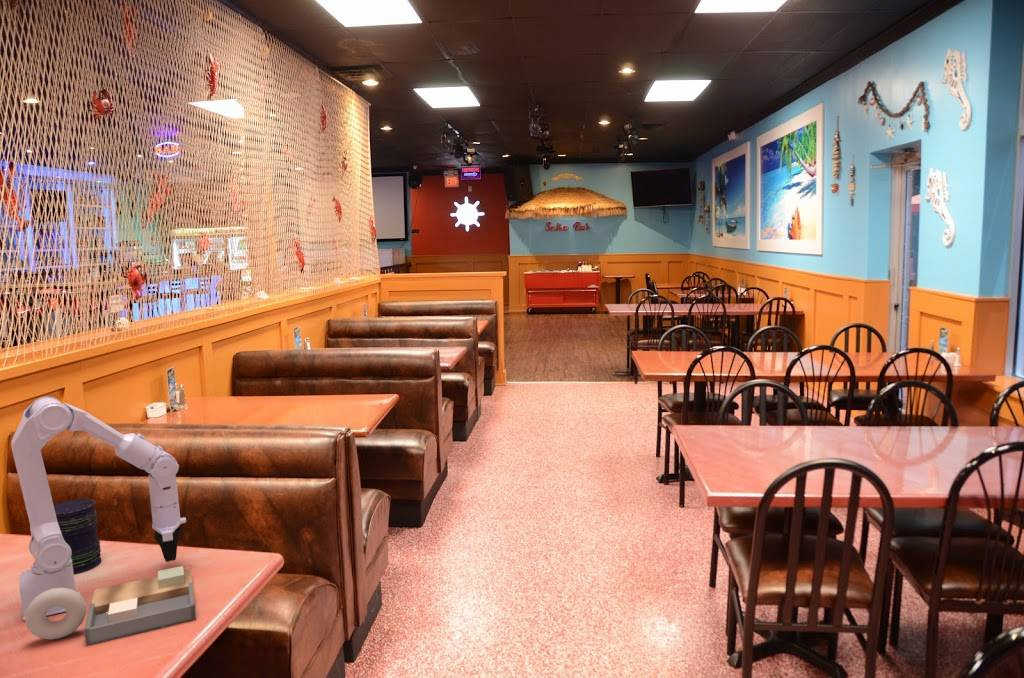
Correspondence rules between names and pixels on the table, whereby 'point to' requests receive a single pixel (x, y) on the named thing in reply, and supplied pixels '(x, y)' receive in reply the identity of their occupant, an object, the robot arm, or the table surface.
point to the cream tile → (123, 610)
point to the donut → (60, 628)
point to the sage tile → (171, 577)
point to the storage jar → (80, 532)
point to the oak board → (138, 592)
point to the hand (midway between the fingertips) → (170, 560)
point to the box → (141, 618)
